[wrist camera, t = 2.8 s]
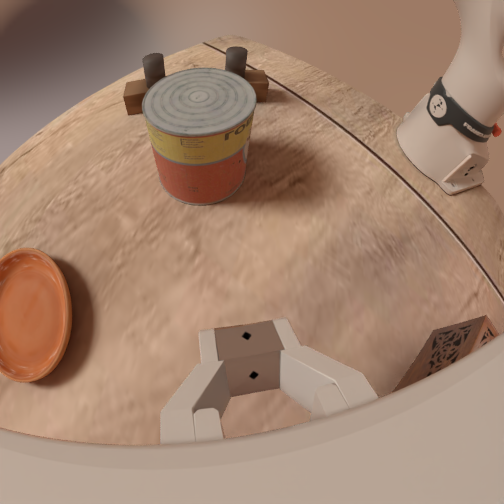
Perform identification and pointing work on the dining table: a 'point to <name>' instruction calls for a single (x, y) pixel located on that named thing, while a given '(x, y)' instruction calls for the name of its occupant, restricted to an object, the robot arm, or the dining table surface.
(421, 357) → the tissue box cover
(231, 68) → the bench stop
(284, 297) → the dining table surface
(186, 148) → the canned food
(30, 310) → the saucer
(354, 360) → the dining table surface
